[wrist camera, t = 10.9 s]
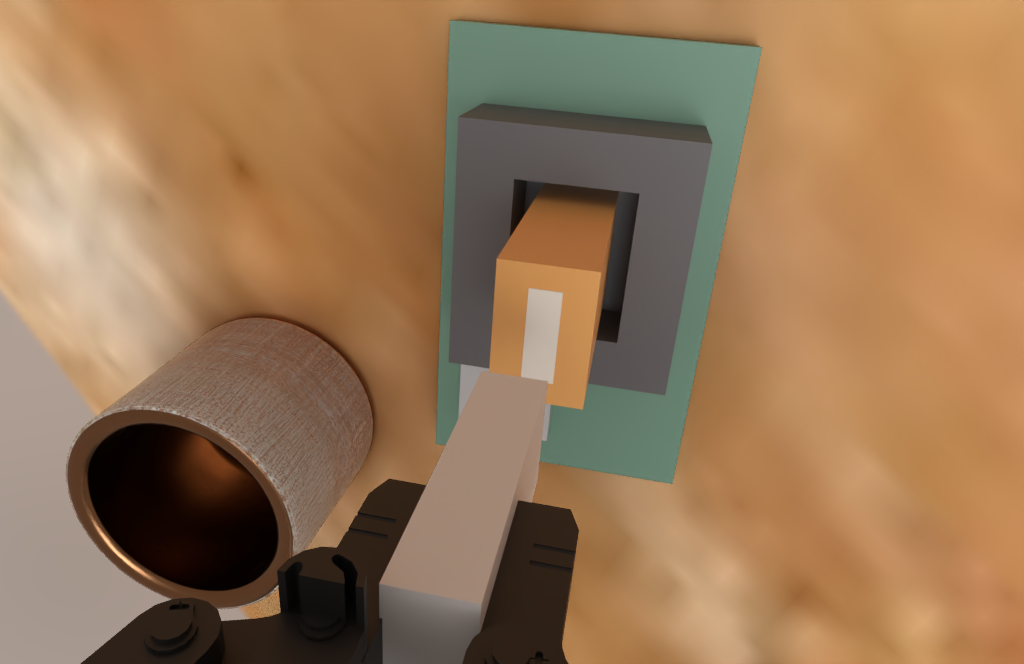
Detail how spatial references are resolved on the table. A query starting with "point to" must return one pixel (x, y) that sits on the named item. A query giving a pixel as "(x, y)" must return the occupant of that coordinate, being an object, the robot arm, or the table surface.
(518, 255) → the plug
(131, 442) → the planter
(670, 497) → the table surface
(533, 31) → the board
